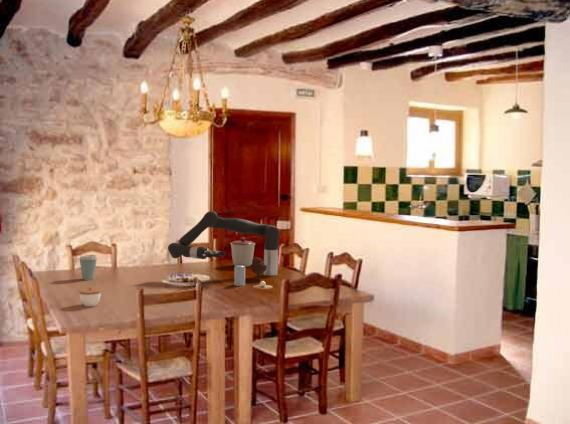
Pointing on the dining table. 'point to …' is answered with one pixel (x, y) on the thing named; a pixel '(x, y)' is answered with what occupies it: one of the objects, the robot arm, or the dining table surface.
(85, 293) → the lidded jar
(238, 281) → the silver soda can
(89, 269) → the disposable coffee cup
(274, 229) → the robot arm
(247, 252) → the canister
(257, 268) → the ice cream bowl
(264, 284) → the egg
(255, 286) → the cork mat
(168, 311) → the dining table surface
